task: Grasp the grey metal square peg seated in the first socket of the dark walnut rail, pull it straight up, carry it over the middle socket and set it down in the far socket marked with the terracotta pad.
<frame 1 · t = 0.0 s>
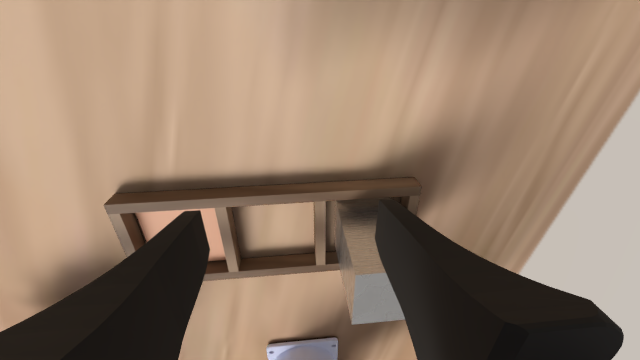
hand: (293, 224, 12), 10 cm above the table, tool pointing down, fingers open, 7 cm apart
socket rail: (275, 226, 24), on the table
square peg: (361, 220, 25), resting in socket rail
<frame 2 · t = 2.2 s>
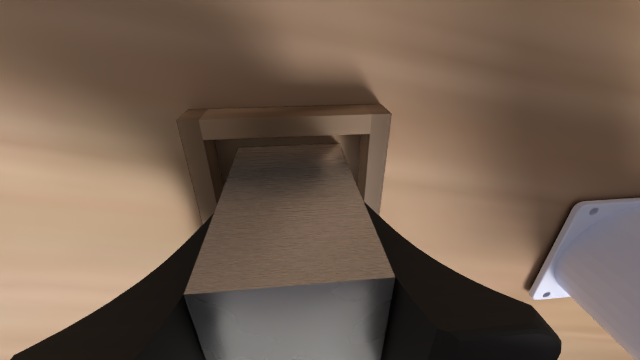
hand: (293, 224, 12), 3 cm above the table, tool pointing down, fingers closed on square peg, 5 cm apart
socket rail: (297, 290, 18), on the table
square peg: (292, 188, 14), resting in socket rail, touching gripper
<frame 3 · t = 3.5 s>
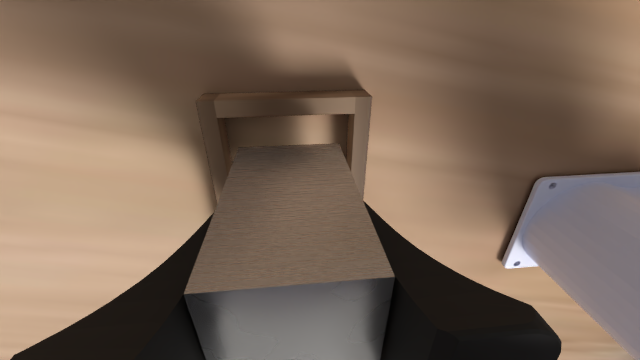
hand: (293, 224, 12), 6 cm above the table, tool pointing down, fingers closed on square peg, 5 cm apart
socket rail: (295, 257, 20), on the table
square peg: (292, 188, 14), point 3 cm above the table, touching gripper
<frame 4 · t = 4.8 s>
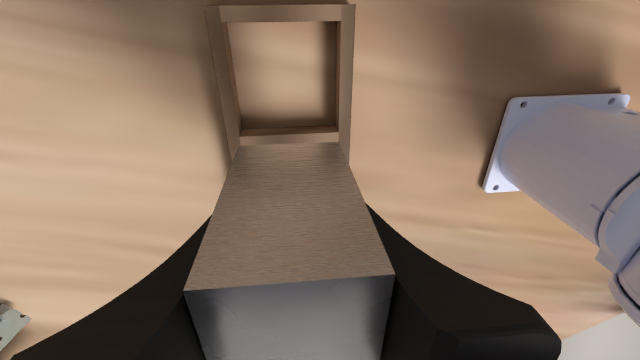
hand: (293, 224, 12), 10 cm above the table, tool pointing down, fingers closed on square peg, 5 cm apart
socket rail: (292, 177, 22), on the table
square peg: (291, 186, 14), point 7 cm above the table, touching gripper
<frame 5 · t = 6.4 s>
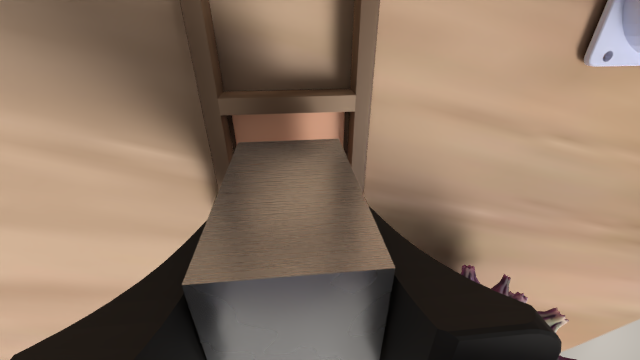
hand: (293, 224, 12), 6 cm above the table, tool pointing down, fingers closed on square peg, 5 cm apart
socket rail: (284, 18, 13), on the table
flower: (430, 282, 24), on the table
square peg: (291, 184, 14), point 3 cm above the table, touching gripper
when the fingers open (4 cm above the table, at t = 7.6 s): square peg stays where it is, resting on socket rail.
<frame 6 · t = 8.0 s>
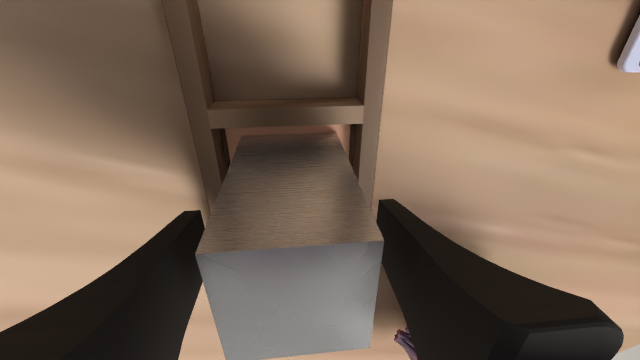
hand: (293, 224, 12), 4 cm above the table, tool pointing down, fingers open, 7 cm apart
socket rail: (282, 18, 12), on the table
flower: (440, 301, 22), on the table
square peg: (292, 175, 15), resting on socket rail
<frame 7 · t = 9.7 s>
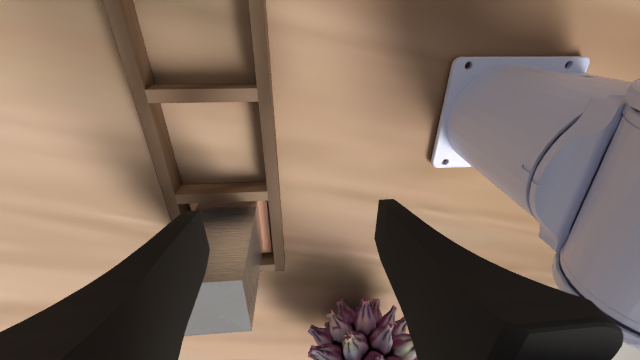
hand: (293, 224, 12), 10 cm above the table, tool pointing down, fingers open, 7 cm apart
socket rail: (218, 143, 21), on the table
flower: (353, 306, 31), on the table
square peg: (232, 225, 24), resting on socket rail
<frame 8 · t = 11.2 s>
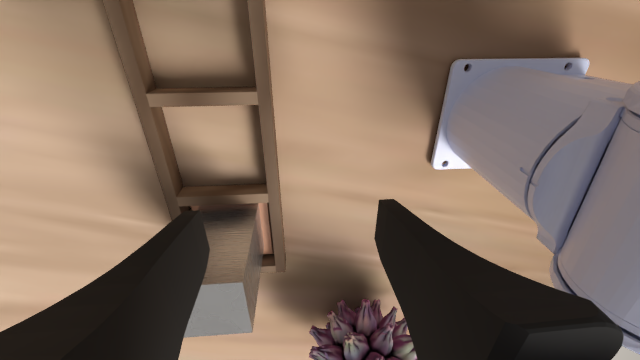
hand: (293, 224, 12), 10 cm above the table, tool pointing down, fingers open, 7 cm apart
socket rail: (219, 145, 21), on the table
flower: (354, 307, 31), on the table
square peg: (233, 227, 24), resting on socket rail
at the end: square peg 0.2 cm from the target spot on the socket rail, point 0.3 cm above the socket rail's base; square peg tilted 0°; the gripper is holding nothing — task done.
